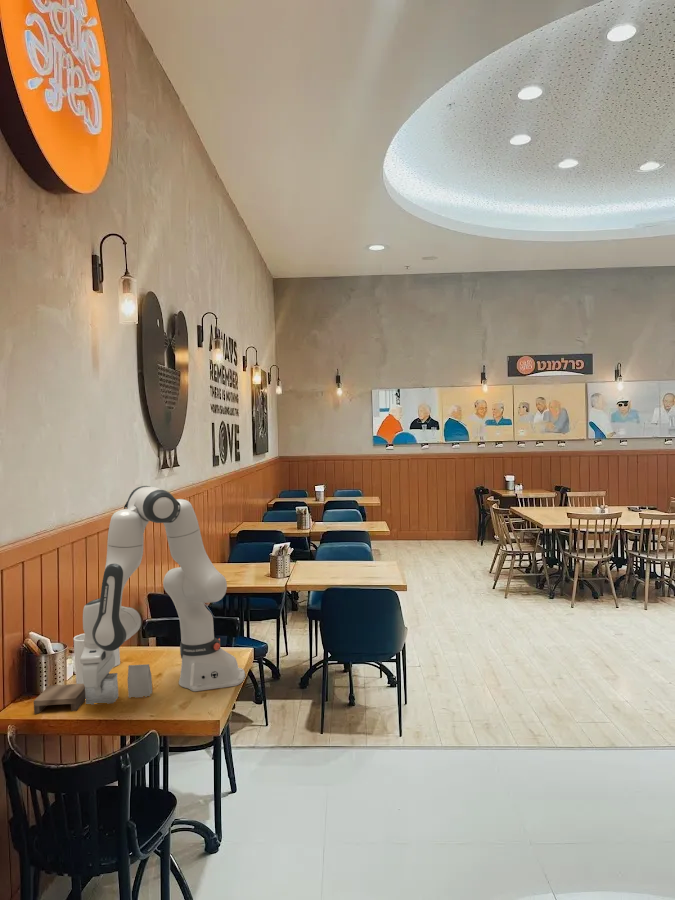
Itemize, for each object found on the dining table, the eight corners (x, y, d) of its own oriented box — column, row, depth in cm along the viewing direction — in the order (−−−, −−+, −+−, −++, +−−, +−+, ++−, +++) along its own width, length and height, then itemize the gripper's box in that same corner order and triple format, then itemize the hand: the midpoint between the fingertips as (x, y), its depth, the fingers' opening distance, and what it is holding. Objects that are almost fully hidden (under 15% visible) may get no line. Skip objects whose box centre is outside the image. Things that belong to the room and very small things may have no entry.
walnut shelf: (89, 695, 213) (88, 683, 213) (76, 710, 201) (75, 698, 201) (49, 697, 213) (49, 685, 213) (34, 713, 201) (33, 701, 201)
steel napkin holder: (118, 697, 211) (117, 673, 210) (114, 703, 206) (112, 678, 206) (90, 698, 210) (89, 674, 210) (85, 704, 206) (83, 680, 205)
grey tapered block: (149, 696, 210) (147, 666, 209) (128, 697, 210) (126, 667, 209) (152, 692, 213) (150, 662, 213) (132, 693, 213) (130, 663, 213)
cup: (92, 686, 221) (89, 640, 220) (71, 685, 223) (68, 640, 222) (105, 677, 229) (103, 632, 228) (85, 676, 231) (82, 632, 230)
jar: (94, 664, 242) (92, 633, 242) (116, 659, 247) (114, 628, 246) (99, 671, 235) (97, 639, 234) (122, 666, 239) (120, 634, 239)
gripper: (99, 638, 218) (102, 678, 218) (77, 660, 197) (80, 704, 198) (118, 637, 218) (121, 677, 219) (98, 659, 198) (101, 703, 198)
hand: (101, 690), depth 208 cm, fingers closed on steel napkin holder, 4 cm apart
